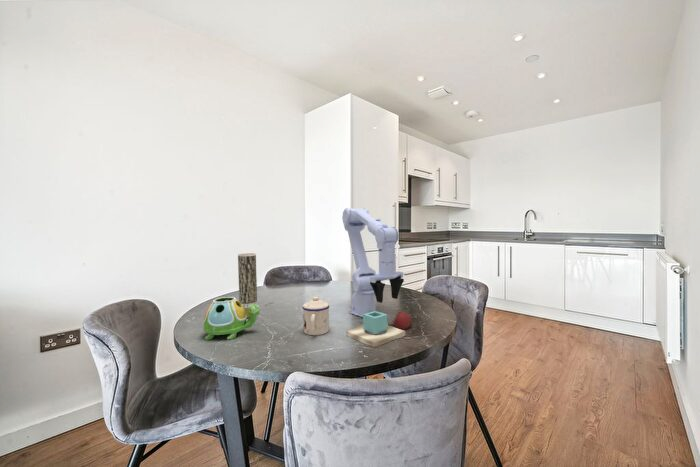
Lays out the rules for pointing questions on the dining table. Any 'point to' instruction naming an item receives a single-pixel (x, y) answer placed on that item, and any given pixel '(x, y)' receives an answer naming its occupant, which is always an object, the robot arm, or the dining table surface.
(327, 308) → the teacup with lid
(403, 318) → the fruit
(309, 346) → the dining table surface
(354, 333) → the post base
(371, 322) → the collar
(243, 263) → the bark log
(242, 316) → the turtle holder
